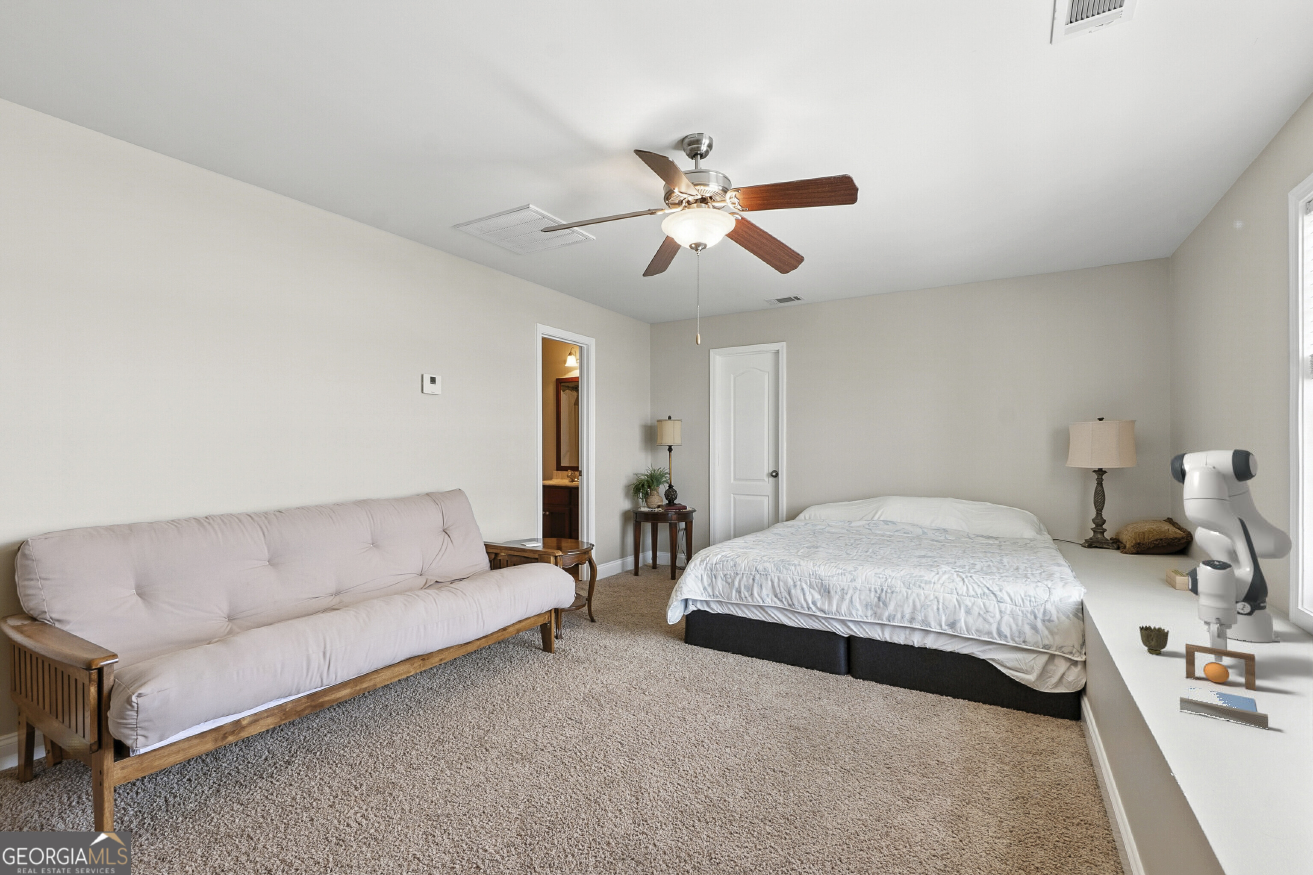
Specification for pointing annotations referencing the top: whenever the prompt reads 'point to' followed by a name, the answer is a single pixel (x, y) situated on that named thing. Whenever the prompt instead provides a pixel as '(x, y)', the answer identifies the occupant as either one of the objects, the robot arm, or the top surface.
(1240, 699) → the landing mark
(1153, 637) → the cup
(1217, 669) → the ball
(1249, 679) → the bridge
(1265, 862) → the top surface
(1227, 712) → the wall
